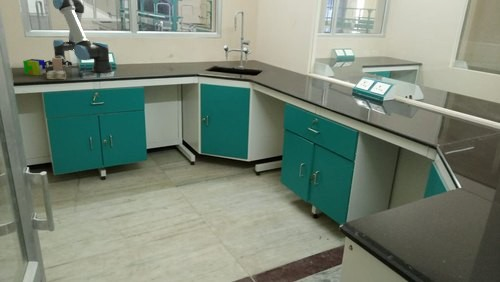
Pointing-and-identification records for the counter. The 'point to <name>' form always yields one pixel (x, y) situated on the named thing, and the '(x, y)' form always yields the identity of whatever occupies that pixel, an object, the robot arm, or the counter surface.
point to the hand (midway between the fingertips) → (56, 65)
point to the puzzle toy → (34, 67)
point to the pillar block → (57, 64)
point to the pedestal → (56, 75)
